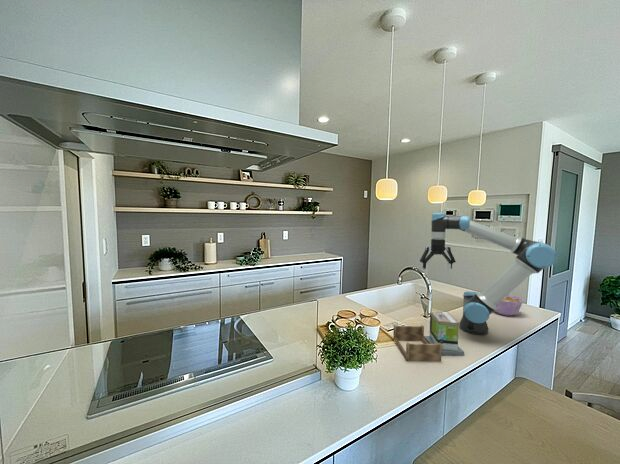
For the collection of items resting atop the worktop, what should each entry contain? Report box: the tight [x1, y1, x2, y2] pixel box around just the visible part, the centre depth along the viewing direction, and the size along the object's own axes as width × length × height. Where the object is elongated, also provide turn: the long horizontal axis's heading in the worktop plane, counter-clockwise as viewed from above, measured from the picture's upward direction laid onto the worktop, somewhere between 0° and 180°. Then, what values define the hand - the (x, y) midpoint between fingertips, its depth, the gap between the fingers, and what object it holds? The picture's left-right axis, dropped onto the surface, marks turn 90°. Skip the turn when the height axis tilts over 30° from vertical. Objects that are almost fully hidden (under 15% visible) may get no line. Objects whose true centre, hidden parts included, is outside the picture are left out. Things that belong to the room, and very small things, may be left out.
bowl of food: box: [494, 294, 524, 317], centre depth 185 cm, size 20×20×12 cm
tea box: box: [429, 310, 460, 351], centre depth 137 cm, size 15×10×15 cm, turn 170°
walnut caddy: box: [392, 324, 442, 362], centre depth 134 cm, size 17×22×8 cm
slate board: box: [424, 335, 465, 357], centre depth 137 cm, size 13×17×2 cm
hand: (437, 274), depth 155 cm, fingers open, 13 cm apart
